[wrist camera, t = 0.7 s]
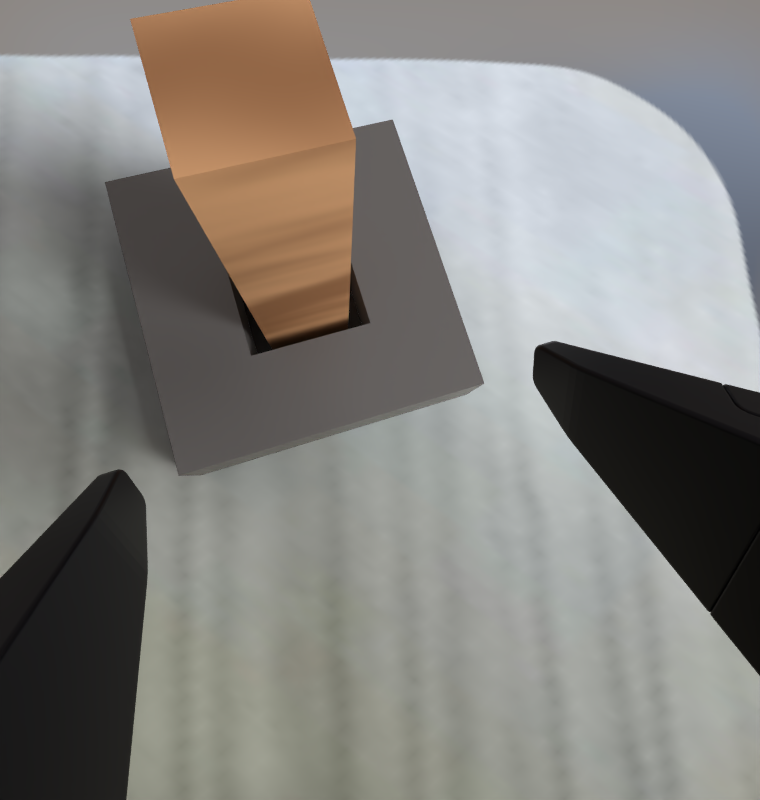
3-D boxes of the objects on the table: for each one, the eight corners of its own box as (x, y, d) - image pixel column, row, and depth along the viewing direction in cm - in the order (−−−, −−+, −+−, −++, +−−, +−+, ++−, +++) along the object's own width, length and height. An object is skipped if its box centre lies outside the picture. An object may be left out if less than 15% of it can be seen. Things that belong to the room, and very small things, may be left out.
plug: (348, 331, 24) (356, 138, 10) (273, 351, 23) (173, 179, 9) (326, 262, 24) (305, -12, 10) (253, 281, 24) (130, 19, 10)
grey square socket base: (466, 394, 24) (484, 383, 21) (200, 475, 22) (178, 475, 19) (386, 160, 25) (392, 119, 23) (134, 218, 24) (104, 182, 21)
